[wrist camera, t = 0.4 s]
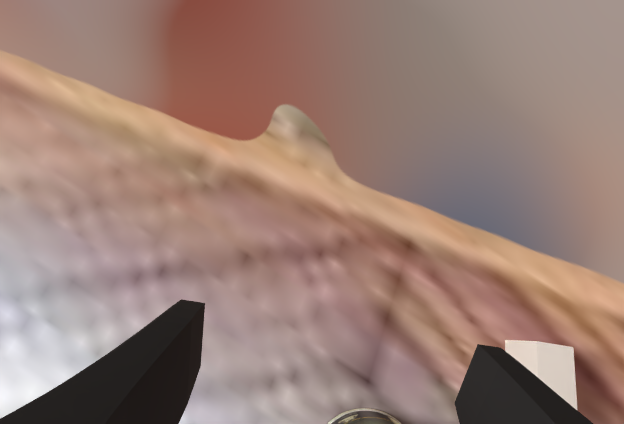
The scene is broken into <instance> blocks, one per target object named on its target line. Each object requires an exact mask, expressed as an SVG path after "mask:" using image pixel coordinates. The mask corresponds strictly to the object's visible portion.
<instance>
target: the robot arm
mask: <svg viewBox="0 0 624 424" xmlns="http://www.w3.org/2000/svg"><path fill="white" fill-rule="evenodd" d="M204 309H205V303H200V302H194V301H187V300H180V301H179V302H177V303H176V304H174V305H173V306H172V307H170V308H169V309H168V310H166V311H165V312H164V313H162V314H161V315H160V316H159V317H157V318H156V319H155V320H153V321H152V322H151V323H149V324H148V325H147V326H145V327H144V328H143V329H141V330H140V331H139V332H137V333H136V334H135V335H133V336H132V337H130V338H129V339H128V340H126V341H125V342H123V343H122V344H121V345H119V346H118V347H117V348H115V349H114V350H112V351H111V352H110V353H108V354H107V355H105V356H104V357H102V358H101V359H99V360H98V361H96V362H95V363H93V364H92V365H90V366H89V367H87V368H85V369H84V370H82V371H81V372H79V373H78V374H76V375H75V376H73V377H72V378H70V379H69V380H67V381H65V382H64V383H62V384H61V385H59V386H57V387H56V388H54V389H52V390H51V391H49V392H47V393H46V394H44V395H42V396H40V397H39V398H37V399H35V400H33V401H32V402H30V403H28V404H26V405H25V406H23V407H21V408H19V409H17V410H16V411H14V412H12V413H10V414H8V415H6V416H5V417H3V418H1V419H0V424H178V423H179V421H180V419H181V417H182V415H183V413H184V410H185V408H186V406H187V404H188V401H189V398H190V395H191V392H192V389H193V387H194V384H195V381H196V378H197V375H198V372H199V369H200V366H201V352H202V337H203V323H204ZM455 406H456V410H457V414H458V418H459V422H460V424H593V423H592V422H591V421H589V420H588V419H587V418H586V417H584V416H583V415H582V414H581V413H580V412H578V411H577V410H576V409H575V408H574V407H572V406H571V405H570V404H569V403H568V402H566V401H565V400H564V399H563V398H562V397H560V396H559V395H558V394H557V393H556V392H554V391H553V390H552V389H551V388H550V387H549V386H547V385H546V384H545V383H544V382H543V381H541V380H540V379H539V378H538V377H537V376H535V375H534V374H533V373H532V372H531V371H530V370H528V369H527V368H526V367H525V366H523V365H522V364H521V363H520V362H519V361H517V360H516V359H515V358H514V357H512V356H511V355H510V354H508V353H507V352H506V351H504V350H503V349H501V348H499V347H492V346H485V345H479V344H478V345H477V348H476V350H475V353H474V355H473V358H472V360H471V363H470V365H469V368H468V370H467V373H466V376H465V378H464V381H463V383H462V386H461V388H460V391H459V393H458V396H457V398H456V401H455Z"/></svg>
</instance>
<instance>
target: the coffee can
mask: <svg viewBox="0 0 624 424" xmlns="http://www.w3.org/2000/svg"><path fill="white" fill-rule="evenodd" d="M328 424H401V423H400V422H399V421H398V420H397V419H395V418H394V417H392V416H390V415H389V414H387V413H385V412H382V411H379V410H375V409H369V408H360V409H353V410H349V411H346V412H344V413H342V414H339V415H338V416H336V417H335V418H333V419H332V420H331V421H330V422H329V423H328Z"/></svg>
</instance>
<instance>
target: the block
mask: <svg viewBox="0 0 624 424" xmlns="http://www.w3.org/2000/svg"><path fill="white" fill-rule="evenodd" d="M505 351H506V352H507V353H508V354H510V355H511V356H512V357H514V358H515V359H516V360H517V361H519V362H520V363H521V364H522V365H523V366H525V367H526V368H527V369H528V370H530V371H531V372H532V373H533V374H534V375H535V376H537V377H538V378H539V379H540V380H541V381H543V382H544V383H545V384H546V385H547V386H549V387H550V388H551V389H552V390H553V391H554V392H556V393H557V394H558V395H559V396H560V397H562V398H563V399H564V400H565V401H566V402H568V403H569V404H570V405H571V406H572V407H574V408H575V409H576V410H577V396H576V381H575V366H574V350H573V347H568V346H562V345H556V344H550V343H544V342H538V341H519V340H505Z"/></svg>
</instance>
